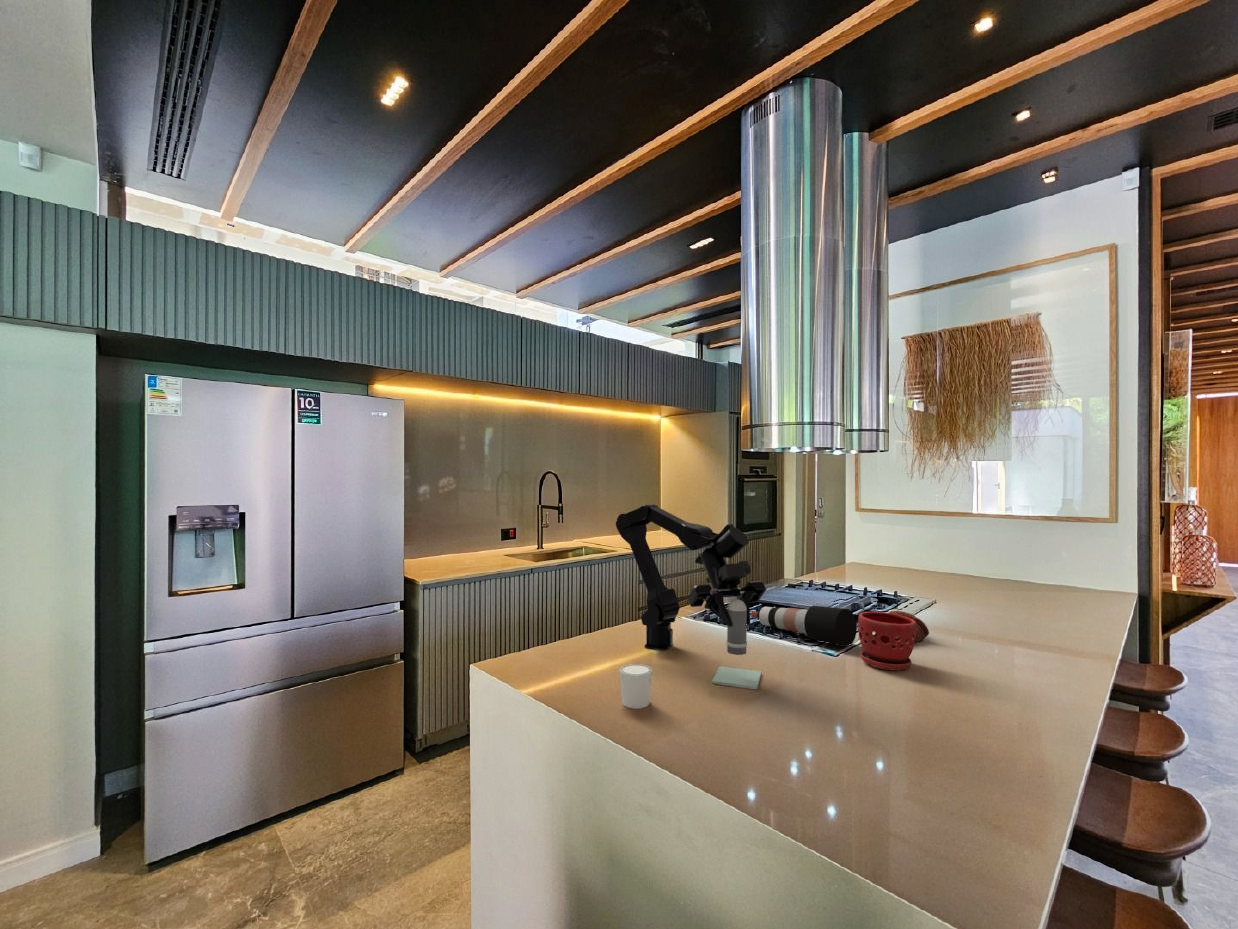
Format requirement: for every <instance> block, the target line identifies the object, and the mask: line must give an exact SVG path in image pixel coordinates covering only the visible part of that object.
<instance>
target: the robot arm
mask: <svg viewBox="0 0 1238 929" xmlns="http://www.w3.org/2000/svg"><path fill="white" fill-rule="evenodd" d="M650 523H654V524H655V525H656V526H659V528H660V527H661V528H662V529H664V530H665V531H667V532H669V533H671V534H673V535H675V536H676V537H677V538H678V540H679V542H680V543H681V544H682V545H684V546H685V547H686V548H687V549H688V550H691V551H698V550H699V551H700V550H703V551H702V552H699V553H697V557H696V558H695V560H694V561H695V562H694V563H695V564H698V565H703V568H704V570H705V572H706V574H707V578H705V579H706V582H707V583H705V584H704V583H703V584H694V586H693V588H692V589H691V591H690V592H689V594H688V596H687V597H688V598H687V599H688V604H689V606H690V607H691V608H697V607H702V606H704V608H705V609H706V610H707V609H708V611H711V612H712V613H713V614H714V615H716V616H717V617H718V618H719V619H720V620H721V621H722V622H723V623H724V624H725V625H726V626H727V625H728V626H729V627H731V626H732V622H731V619H730V616H729V614H728V611H727V607H726V606H727V605H726V604H725V601H724V598H735V599H739V600H741V601H743V602H744V603H745V605H746V608H747V626H749V625H750V624H751V608H750V603H758V602H759V600H760V599H761V598H762V596H764V593H765V592H766V591H767V587H766V585H765V583H764V582H763V581H762V580H754V581H753V580H751V581H747V582H746V583H745V585H744V586H743V587H738V585H740V584H741V579H743V578H746V577H747V576H749V575H750V574H751V573H752V569H751V566H750V565H751V564H750V563H749V562H748V560H741V561H740V562H738V563H728V562H727V560H726V558H727V559H734V558H735V557H736V556H737V555H738V554H739V553H740V552H741V551H742V550H743V549H745V548H746V547H747V545H748V544H749V539H748V537H747V535H746V534H745V532H743V531H741V529H739V528H737V527H735V526H734V524H733V523H729V524H726V525H725V526H724V527H723V529H722V530H721V531H720V532H719V533H716V532H714V531H713V529H712V528H710V527H709V526H705V525H703V524H702V525H701V524H699V523H691V522H689V521H686V520H684V519H682V518H680V517H677V516H676V515H675V514H672V513H671V512H669V511H666V510H665V509H663V508H660V507H659V506H658V505H657V504H654V503H652V504H643V505H642V506H640V507H638V508H635V509H633V510H631V511H629V512H626V513H620V514H619V515H618V516H617V519H616V521H615V528H616V529H617V532H618V533H619V536H621V538H622V539H623V540H624V541H625V542H626V543H627V544H629V547H630V549H631V552H632V554H633V557H634V560H635V561H636V564H637V568H638V570H639V571H640V575H641V577H642V580H643V584H644V586H645V588H646V591H647V595H646V606H647V610H646V611H645V612H644V613H643V614H642V615H641V616H640V620H641V624H642V626H646V628H645V629H646V630H645V631H646V643H645V644H644V648H646V649H657V650H663V651H667V650H669V648H670V647H671V646H672V645H673V642H674V641H673V640H674V637H673V634H674V633H673V632H674V630H673V628H672V623H675V621H676V618H677V616H678V615H679V612H680V604H679V603H680V600H679V599H678V597H677V593H676V591H675V590H676V589H674V588H673V587H672V588H668V587H667V586H666V585H665V584H664V581H663V579H662V576H661V573H660V571H659V568H658V566H657V564H656V561H655V558H654V556H653V554H652V552H651V551H652V550H651V548H650V546H649V544H648V541H647V530H648V528H647V525H649V524H650ZM704 602H705V605H703V604H704Z"/></svg>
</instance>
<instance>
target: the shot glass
mask: <svg viewBox="0 0 1238 929" xmlns="http://www.w3.org/2000/svg"><path fill="white" fill-rule="evenodd" d="M652 673H653V669H652V667H651V666H649V665H647V664H640V663H632V664H626V665H622V666H621V667H620V668H619V679H620V680H619V681H620V691H621V700H622V701H621V702H622V705H623V706H625V707H626V708H628V709H629V708H630V709H637V710H638V709H644V708H646V707H648V706H649V705H650V701H651V700H650V697H651V686H652V676H653V675H652Z"/></svg>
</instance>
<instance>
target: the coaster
mask: <svg viewBox="0 0 1238 929" xmlns="http://www.w3.org/2000/svg"><path fill="white" fill-rule="evenodd" d="M761 677H762V671H761V670H752V669H746V668H745V669H743V668H736V667H727V666H719V667H718V668H717V670H716V672H715V673H714V677H713V678H712V680H711V683H712V685H719V686H721V685H722V686H726V687H727V686H728V687H736V688H743V689H750V690H758V687H759V683H760V680H761Z"/></svg>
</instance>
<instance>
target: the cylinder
mask: <svg viewBox="0 0 1238 929" xmlns="http://www.w3.org/2000/svg"><path fill="white" fill-rule="evenodd" d="M726 609H727V611H728V614H729V616H730V619H731V622H732V626H731V627H729V626H728V625H727V624H726V626H727V627H726V635H727V637H726V638H727V639H726V650H727V653H728V654H730V655H734V656H742V655H746V654H747V646H748V641H747V633H748V632H747V626H748V625H747V608H746V605H745V603H744V602H743V601H741V600H739V599H737V598H735V599H732V600H730V602H728V604H727V607H726Z"/></svg>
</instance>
